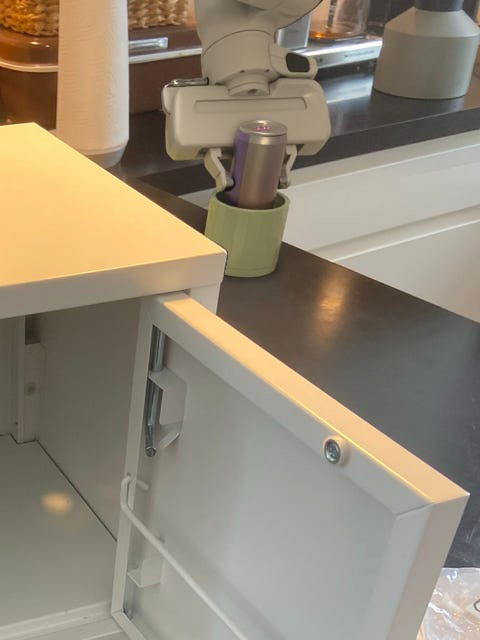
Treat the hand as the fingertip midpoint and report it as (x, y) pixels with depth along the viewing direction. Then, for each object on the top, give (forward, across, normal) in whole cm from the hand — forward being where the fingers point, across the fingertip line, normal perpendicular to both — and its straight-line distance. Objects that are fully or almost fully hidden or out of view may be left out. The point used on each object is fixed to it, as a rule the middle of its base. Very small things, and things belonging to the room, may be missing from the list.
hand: (254, 188), depth 115 cm
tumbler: (+6, 0, +7) cm, 9 cm away
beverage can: (+6, 0, +6) cm, 9 cm away
